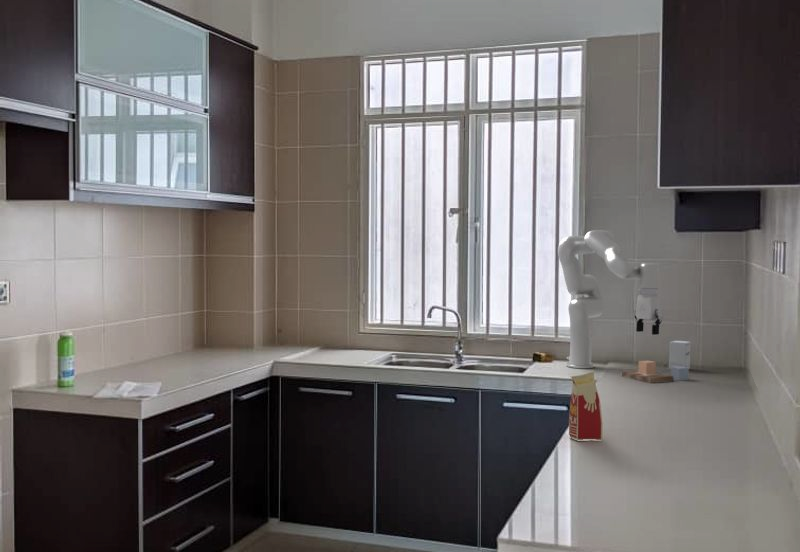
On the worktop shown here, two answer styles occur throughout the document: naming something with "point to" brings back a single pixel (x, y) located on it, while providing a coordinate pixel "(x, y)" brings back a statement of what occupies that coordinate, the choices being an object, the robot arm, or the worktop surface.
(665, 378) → the board
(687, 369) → the slate block
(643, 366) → the terracotta block
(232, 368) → the worktop surface
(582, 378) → the milk carton
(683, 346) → the supplement box
